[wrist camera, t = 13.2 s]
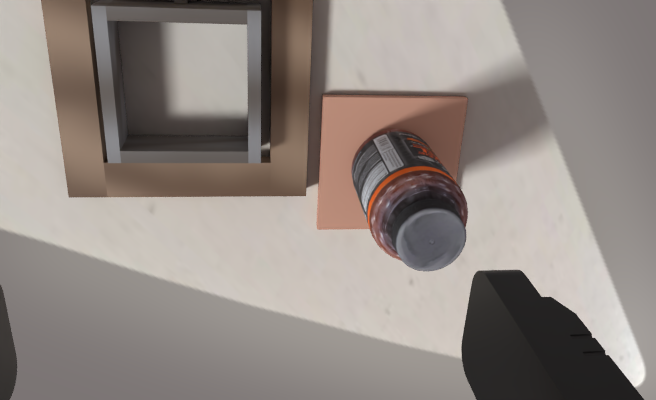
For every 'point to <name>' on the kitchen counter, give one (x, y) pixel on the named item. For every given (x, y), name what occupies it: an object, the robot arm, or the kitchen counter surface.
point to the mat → (366, 120)
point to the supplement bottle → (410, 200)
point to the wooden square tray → (176, 151)
